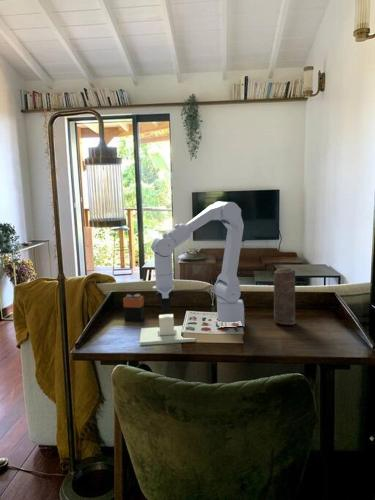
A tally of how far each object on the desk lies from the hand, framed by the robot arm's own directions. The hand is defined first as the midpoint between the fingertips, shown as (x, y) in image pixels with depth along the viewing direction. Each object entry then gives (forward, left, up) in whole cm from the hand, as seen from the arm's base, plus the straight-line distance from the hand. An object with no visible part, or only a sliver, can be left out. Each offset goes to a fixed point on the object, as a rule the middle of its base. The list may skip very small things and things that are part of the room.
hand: (166, 312), depth 130 cm
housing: (0, 0, -7) cm, 7 cm away
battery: (+12, -18, -8) cm, 23 cm away
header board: (0, 0, -8) cm, 8 cm away
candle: (-42, -4, -8) cm, 43 cm away
